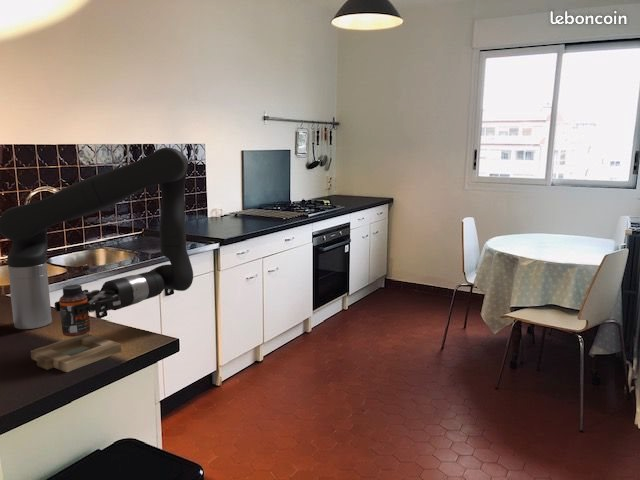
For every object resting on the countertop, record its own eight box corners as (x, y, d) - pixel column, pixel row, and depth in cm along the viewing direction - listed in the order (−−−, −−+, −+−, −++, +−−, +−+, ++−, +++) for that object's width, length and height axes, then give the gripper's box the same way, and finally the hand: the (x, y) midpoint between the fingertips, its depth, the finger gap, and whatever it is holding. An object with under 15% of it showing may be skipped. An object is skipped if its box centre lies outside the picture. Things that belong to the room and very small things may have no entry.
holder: (24, 361, 120) (24, 352, 120) (85, 340, 133) (85, 333, 133) (60, 374, 113) (59, 366, 113) (121, 351, 126) (120, 343, 125)
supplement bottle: (79, 338, 119) (74, 290, 117) (57, 336, 121) (51, 289, 119) (95, 329, 125) (91, 283, 123) (73, 328, 126) (68, 282, 124)
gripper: (106, 274, 137) (44, 289, 123) (143, 280, 129) (81, 298, 115) (109, 301, 138) (47, 320, 124) (145, 309, 130) (84, 330, 116)
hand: (64, 309), depth 120 cm, fingers closed on supplement bottle, 6 cm apart
